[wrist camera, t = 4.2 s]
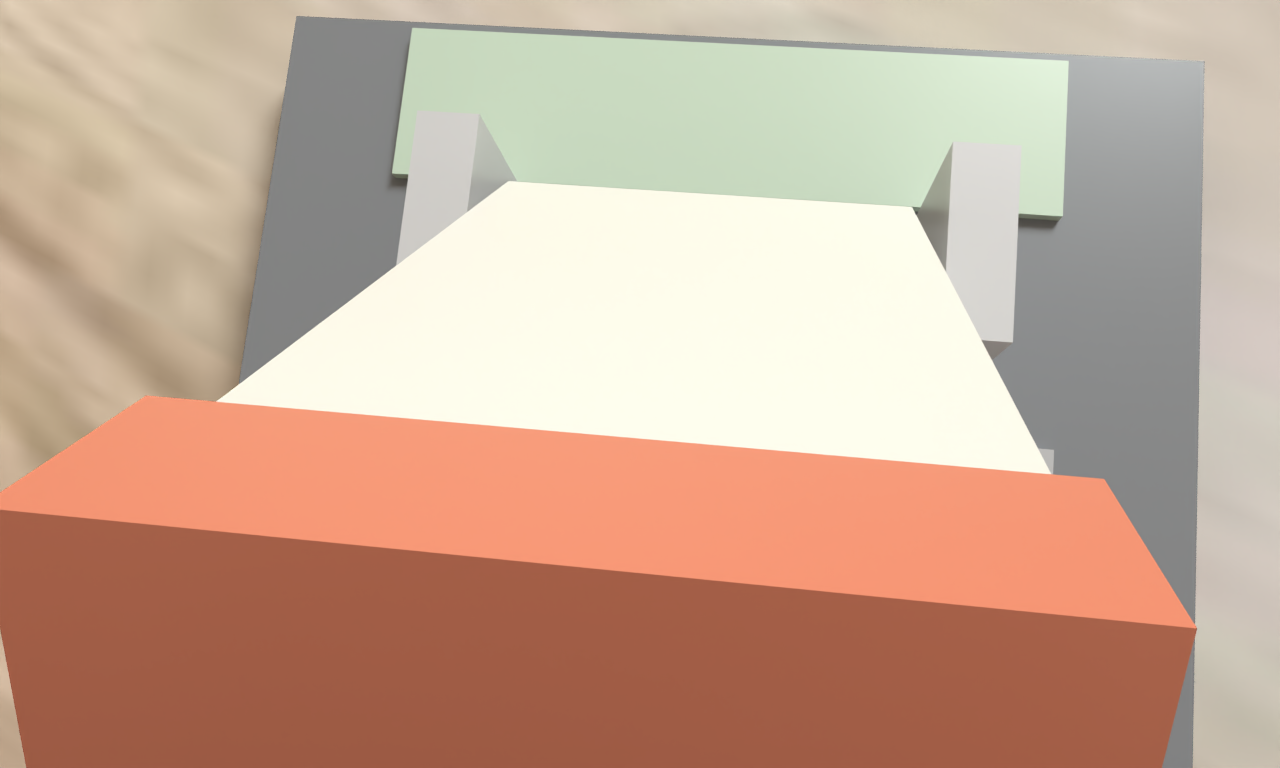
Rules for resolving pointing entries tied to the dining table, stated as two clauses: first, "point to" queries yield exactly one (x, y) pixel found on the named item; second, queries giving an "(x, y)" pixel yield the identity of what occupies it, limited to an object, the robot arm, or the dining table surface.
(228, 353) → the dining table surface
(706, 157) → the switch panel
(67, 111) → the dining table surface
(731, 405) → the switch lever
